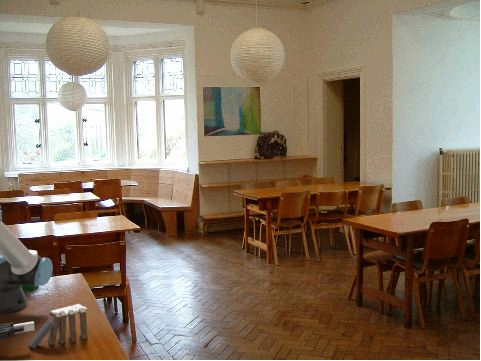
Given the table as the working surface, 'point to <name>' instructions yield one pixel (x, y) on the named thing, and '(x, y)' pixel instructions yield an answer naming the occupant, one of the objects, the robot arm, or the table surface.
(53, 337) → the walnut domino
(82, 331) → the walnut domino
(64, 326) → the walnut domino
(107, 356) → the table surface
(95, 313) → the table surface
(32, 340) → the black domino
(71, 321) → the walnut domino
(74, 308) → the external hard drive
